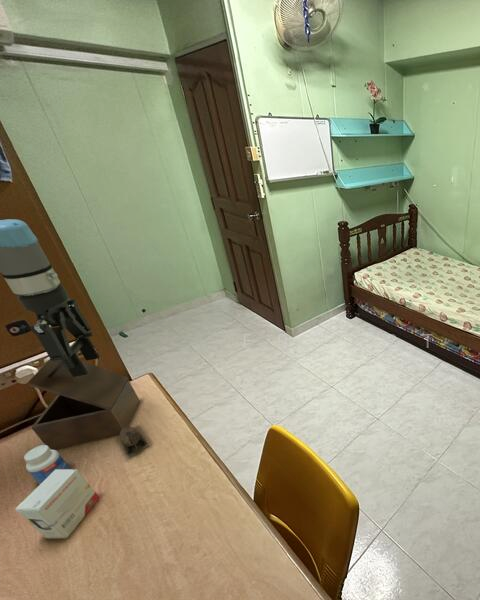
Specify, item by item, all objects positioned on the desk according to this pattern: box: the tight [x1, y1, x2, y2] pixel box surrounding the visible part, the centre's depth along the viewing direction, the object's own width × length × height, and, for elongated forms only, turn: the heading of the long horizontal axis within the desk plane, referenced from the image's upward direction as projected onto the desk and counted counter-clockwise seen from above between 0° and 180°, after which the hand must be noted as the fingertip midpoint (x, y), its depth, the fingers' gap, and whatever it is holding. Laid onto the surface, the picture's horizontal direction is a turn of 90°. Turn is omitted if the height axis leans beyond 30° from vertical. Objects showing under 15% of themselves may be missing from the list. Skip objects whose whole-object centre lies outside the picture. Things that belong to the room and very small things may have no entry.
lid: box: [25, 340, 129, 410], centre depth 84 cm, size 17×13×9 cm
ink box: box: [15, 468, 100, 539], centre depth 67 cm, size 9×5×12 cm, turn 0°
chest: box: [30, 379, 141, 451], centre depth 89 cm, size 17×13×10 cm
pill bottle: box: [23, 444, 71, 485], centre depth 75 cm, size 6×5×10 cm
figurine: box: [118, 426, 150, 459], centre depth 83 cm, size 14×4×9 cm, turn 53°
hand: (86, 366), depth 83 cm, fingers closed on lid, 6 cm apart
